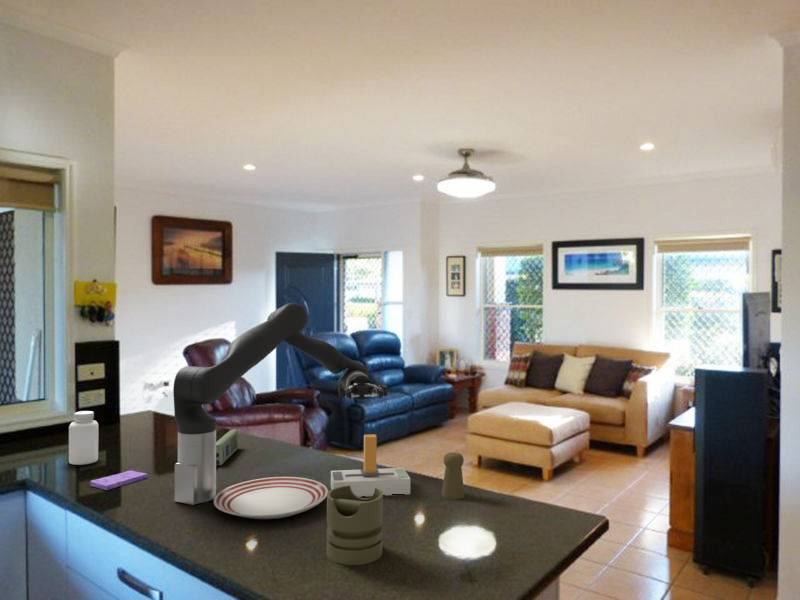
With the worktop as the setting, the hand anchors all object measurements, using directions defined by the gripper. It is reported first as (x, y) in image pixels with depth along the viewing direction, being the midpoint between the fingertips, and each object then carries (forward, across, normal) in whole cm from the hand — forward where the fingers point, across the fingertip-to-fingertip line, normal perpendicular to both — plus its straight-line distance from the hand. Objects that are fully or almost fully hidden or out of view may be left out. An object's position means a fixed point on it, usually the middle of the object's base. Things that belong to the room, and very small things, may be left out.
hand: (365, 395), depth 174 cm
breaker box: (+11, 0, +23) cm, 26 cm away
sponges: (-5, -67, +24) cm, 71 cm away
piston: (+49, -8, +23) cm, 55 cm away
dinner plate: (+19, -25, +24) cm, 40 cm away
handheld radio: (-24, -41, +24) cm, 53 cm away
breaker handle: (+11, 0, +19) cm, 22 cm away
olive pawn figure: (+19, +21, +24) cm, 37 cm away
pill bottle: (-27, -82, +23) cm, 90 cm away
